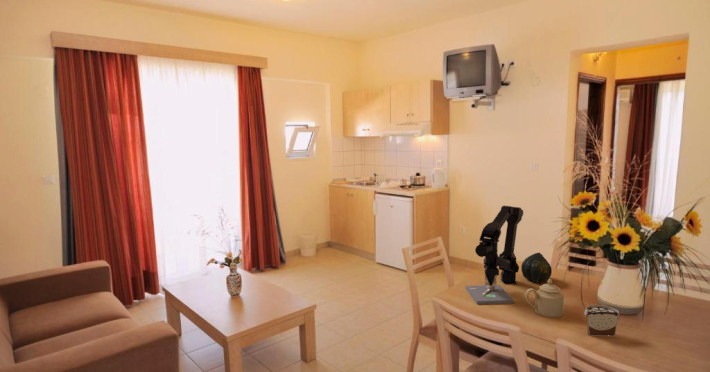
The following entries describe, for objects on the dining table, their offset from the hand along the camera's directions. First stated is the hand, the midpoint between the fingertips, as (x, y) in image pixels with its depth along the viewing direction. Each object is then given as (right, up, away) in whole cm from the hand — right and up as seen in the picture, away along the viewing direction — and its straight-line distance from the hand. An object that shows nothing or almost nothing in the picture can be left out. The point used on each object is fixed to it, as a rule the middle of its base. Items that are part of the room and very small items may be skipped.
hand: (490, 283), depth 203 cm
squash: (+29, -2, +17) cm, 34 cm away
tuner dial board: (-2, -5, -3) cm, 6 cm away
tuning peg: (-2, -3, -3) cm, 5 cm away
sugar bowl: (+16, -8, -23) cm, 29 cm away
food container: (+28, -10, -41) cm, 51 cm away
